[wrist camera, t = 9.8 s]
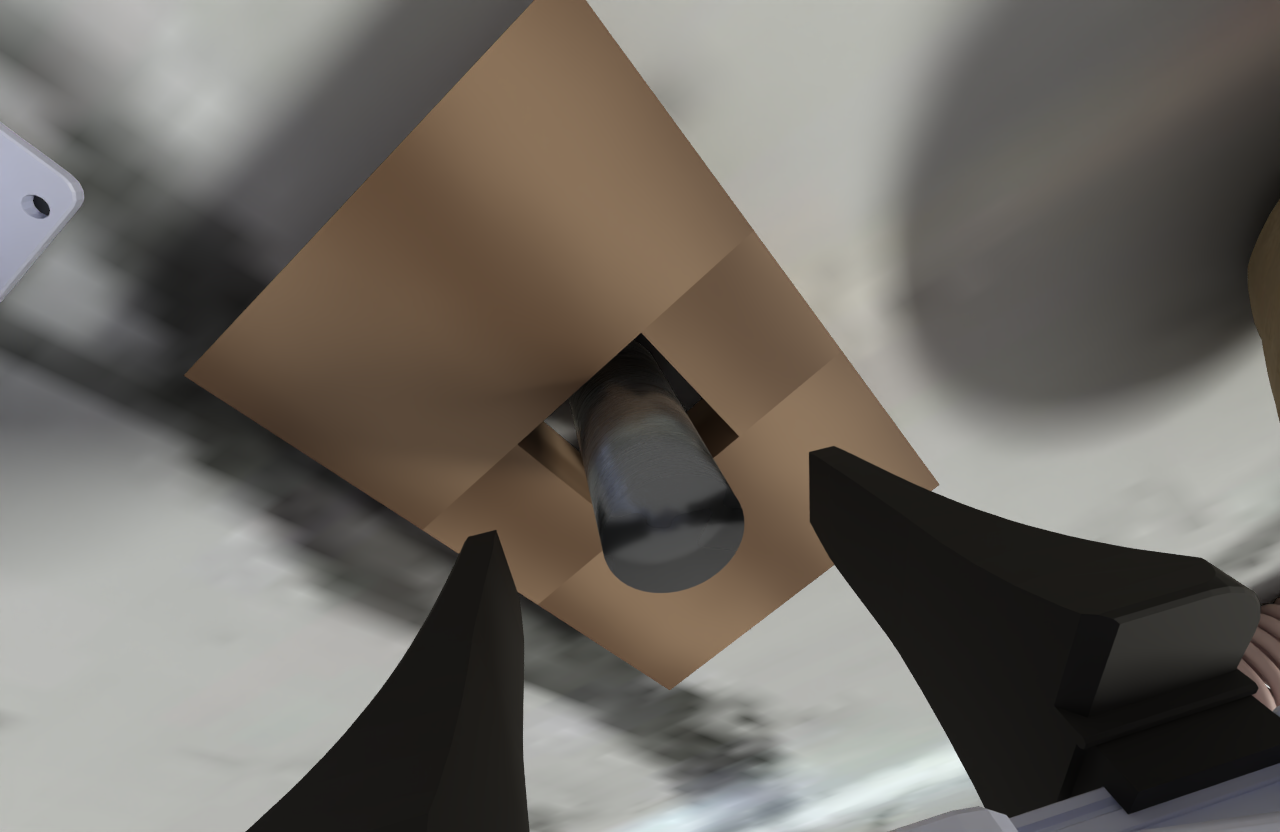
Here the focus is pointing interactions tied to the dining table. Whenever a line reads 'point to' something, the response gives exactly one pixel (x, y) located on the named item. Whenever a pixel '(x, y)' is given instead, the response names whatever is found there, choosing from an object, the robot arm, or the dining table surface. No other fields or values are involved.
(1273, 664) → the coil
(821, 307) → the dining table surface
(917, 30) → the dining table surface
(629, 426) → the tall pin
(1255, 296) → the bowl
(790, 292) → the hole plate
